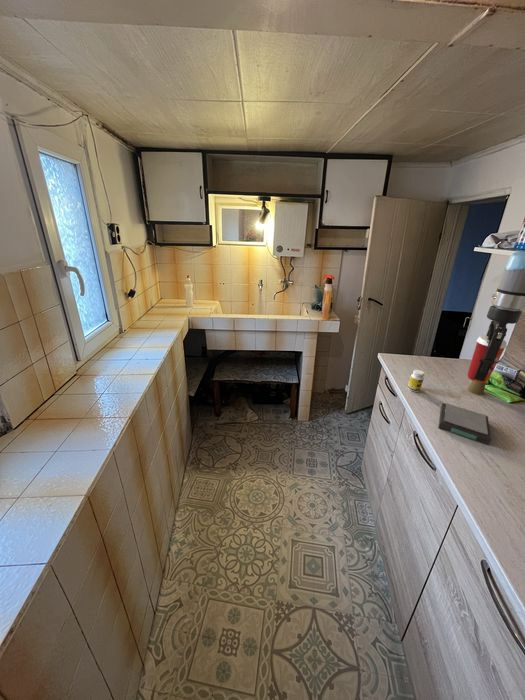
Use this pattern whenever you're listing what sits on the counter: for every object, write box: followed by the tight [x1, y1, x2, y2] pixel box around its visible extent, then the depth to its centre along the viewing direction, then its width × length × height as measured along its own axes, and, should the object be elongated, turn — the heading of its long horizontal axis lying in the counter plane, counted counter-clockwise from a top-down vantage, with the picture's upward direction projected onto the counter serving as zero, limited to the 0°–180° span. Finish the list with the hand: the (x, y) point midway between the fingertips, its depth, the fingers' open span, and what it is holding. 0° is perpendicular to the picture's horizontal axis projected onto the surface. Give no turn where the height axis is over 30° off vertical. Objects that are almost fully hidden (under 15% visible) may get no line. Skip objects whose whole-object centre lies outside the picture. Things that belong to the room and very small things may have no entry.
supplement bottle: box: [407, 369, 425, 393], centre depth 117 cm, size 5×5×8 cm
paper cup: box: [466, 335, 508, 384], centre depth 90 cm, size 8×8×14 cm
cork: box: [466, 376, 491, 396], centre depth 114 cm, size 6×6×11 cm
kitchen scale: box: [437, 402, 492, 446], centre depth 97 cm, size 14×14×3 cm
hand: (478, 375), depth 92 cm, fingers closed on paper cup, 7 cm apart
